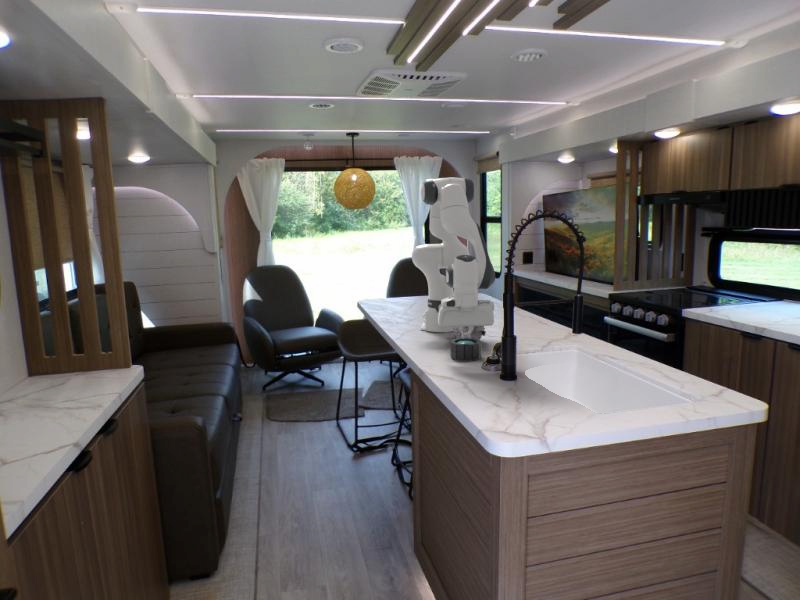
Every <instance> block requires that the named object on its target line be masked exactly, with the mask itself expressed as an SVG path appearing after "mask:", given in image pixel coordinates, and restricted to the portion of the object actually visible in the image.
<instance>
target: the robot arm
mask: <svg viewBox="0 0 800 600" xmlns="http://www.w3.org/2000/svg"><path fill="white" fill-rule="evenodd" d="M475 194H476V187H475V182H474V181H473V180H472V179H471V178H469V177H450V176H449V177H441V178H440V177H438V178H428V179H425V180H424V181H423V183H422V185H421V189H420V195H421V198H422V202H423V203H424V204H426V205H428V206H430V211H429V231H430V234H431V235H432V236H434V237H435V238H437V239H438V240H441V241H442V243H425V244H420V245H417V246H415V247H414V248H413V251H412V254H411V261H412V263H413V265H414V266H415V267H416V268H418V269H419V270H420V271H421V272H422V273H423V275H424V276H425V278H426V281H427V287H428V298H427V309H426V310H425V312H424V313H423V314H422V319H423V323H422V325H421V326H420V330H421V331H427V332H433V333H450V332H453V329H452V328H453V327H459V330H460V332H461V333H462V338H470V334H471V332H472V330H473V326H484V327H486V326H487V327H488V326H493V325H494V324H495V316H494V311H495V303H494V302H493V301H491V300H490V299H487V300H483V299H481V300H480V299H479V290H489V288H491V287H492V285H494V284H495V282H496V281H495V280H496V273H495V268H494V266H493V264H492V261H491V259H490V254H489V252H488V249H487V245H486V242H485V239H484V238H485V237H484V235H483V232H482V228H481V227H480V225H479V223H478V222H476V221H474V220H473V218H472V216H471V214H470V210H469V203H471V202H472V201H474V197H475ZM458 237H460V238H462V239H465V240H466V241H469V243H471V244H472V247H473V250H474V254H475V256H473V255H470V251H469V248H468V247H467V246H466V245H465V244H463V243H462V242H461V241H460V240H459V238H458ZM440 269H445V274H441V271H440ZM478 289H479V290H478ZM463 326H468V327H469V331H468V333H463V331H462V329H463Z"/></svg>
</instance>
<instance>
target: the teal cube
mask: <svg viewBox="0 0 800 600" xmlns="http://www.w3.org/2000/svg"><path fill="white" fill-rule="evenodd" d="M457 343H460V344H472V343H474V342H472V341H459V342H457Z"/></svg>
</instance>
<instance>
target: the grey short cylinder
mask: <svg viewBox="0 0 800 600" xmlns="http://www.w3.org/2000/svg"><path fill="white" fill-rule="evenodd" d="M459 341H472V342H474V343H472V344H460V343H457V342H459ZM449 343H450V344H449V345H450V346H449V348H450V349H449V353H450V354H449V355H450V359H452V360H453V361H458V362H474V361H475V362H476V361H479V360H481V358H482V341H481V339H480V340H478V339H474V338H457V339H454V338H453V339H451V340H450V341H449Z"/></svg>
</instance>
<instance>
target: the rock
mask: <svg viewBox="0 0 800 600" xmlns="http://www.w3.org/2000/svg"><path fill="white" fill-rule="evenodd" d="M452 329H453V331H452V332H453V339H457V338H462V333H461V332H460V330H459V327H453V328H452ZM485 329H486V327H485V326H473V330H472V332H471V334H470V338H474V339H478V340H480V341H481V339H482V336H483V337H485V336H486V333H487V331H485ZM462 331H463V333H468V331H469V327H468V326H463V329H462Z"/></svg>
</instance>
